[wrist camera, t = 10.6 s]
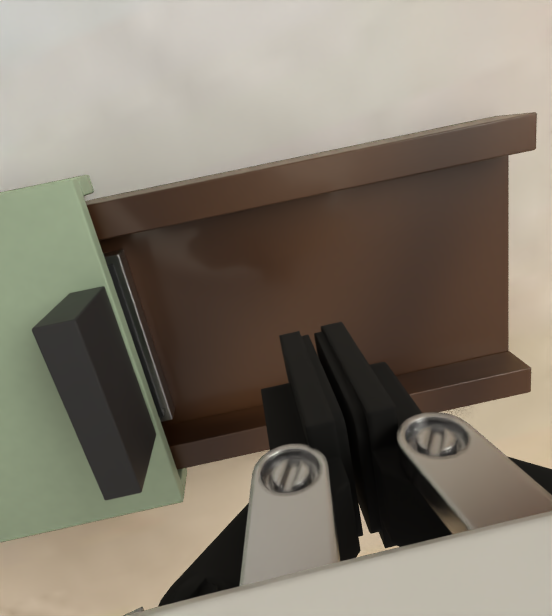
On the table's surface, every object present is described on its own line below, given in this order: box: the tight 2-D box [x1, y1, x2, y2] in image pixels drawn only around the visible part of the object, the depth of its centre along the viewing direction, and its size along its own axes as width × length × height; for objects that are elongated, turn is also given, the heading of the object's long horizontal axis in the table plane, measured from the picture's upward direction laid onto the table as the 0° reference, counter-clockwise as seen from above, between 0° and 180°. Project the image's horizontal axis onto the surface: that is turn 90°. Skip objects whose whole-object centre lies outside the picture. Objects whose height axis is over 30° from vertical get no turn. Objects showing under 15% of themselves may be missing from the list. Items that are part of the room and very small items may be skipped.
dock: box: [85, 112, 537, 470], centre depth 18 cm, size 30×11×2 cm, turn 101°
